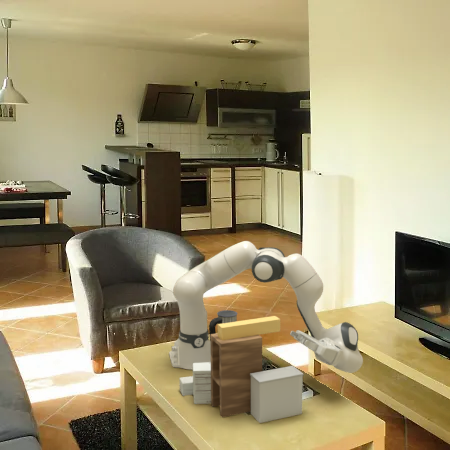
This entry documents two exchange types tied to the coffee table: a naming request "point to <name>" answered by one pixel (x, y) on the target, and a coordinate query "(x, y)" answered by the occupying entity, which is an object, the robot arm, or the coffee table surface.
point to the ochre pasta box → (248, 327)
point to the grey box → (276, 393)
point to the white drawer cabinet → (202, 383)
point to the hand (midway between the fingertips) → (298, 337)
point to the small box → (186, 385)
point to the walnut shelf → (234, 372)
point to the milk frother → (222, 320)
